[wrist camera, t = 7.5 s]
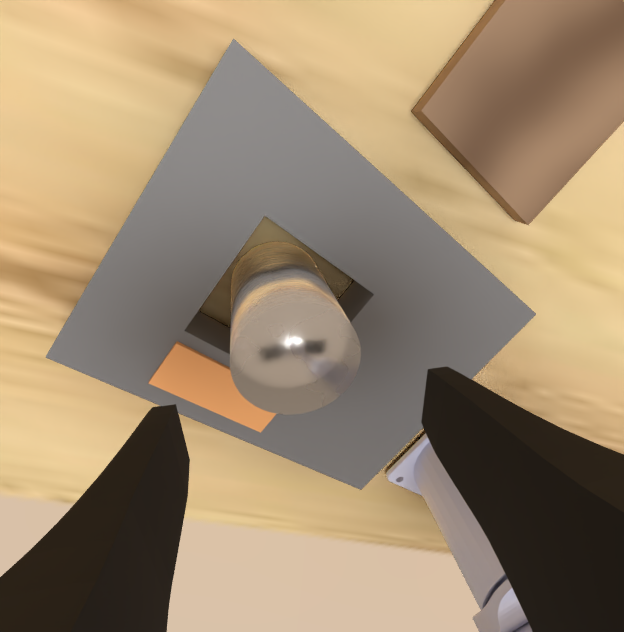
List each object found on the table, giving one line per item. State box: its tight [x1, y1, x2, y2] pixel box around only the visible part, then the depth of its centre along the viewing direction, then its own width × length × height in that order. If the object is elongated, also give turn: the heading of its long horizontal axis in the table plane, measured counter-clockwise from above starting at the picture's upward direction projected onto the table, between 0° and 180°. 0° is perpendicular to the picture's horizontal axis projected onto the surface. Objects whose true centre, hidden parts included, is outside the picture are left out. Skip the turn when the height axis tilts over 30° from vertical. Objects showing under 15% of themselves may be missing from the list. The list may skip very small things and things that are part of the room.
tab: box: [411, 0, 624, 225], centre depth 17 cm, size 8×8×1 cm
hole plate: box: [46, 39, 536, 490], centre depth 19 cm, size 18×14×3 cm
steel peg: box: [230, 242, 361, 415], centre depth 16 cm, size 4×4×7 cm
